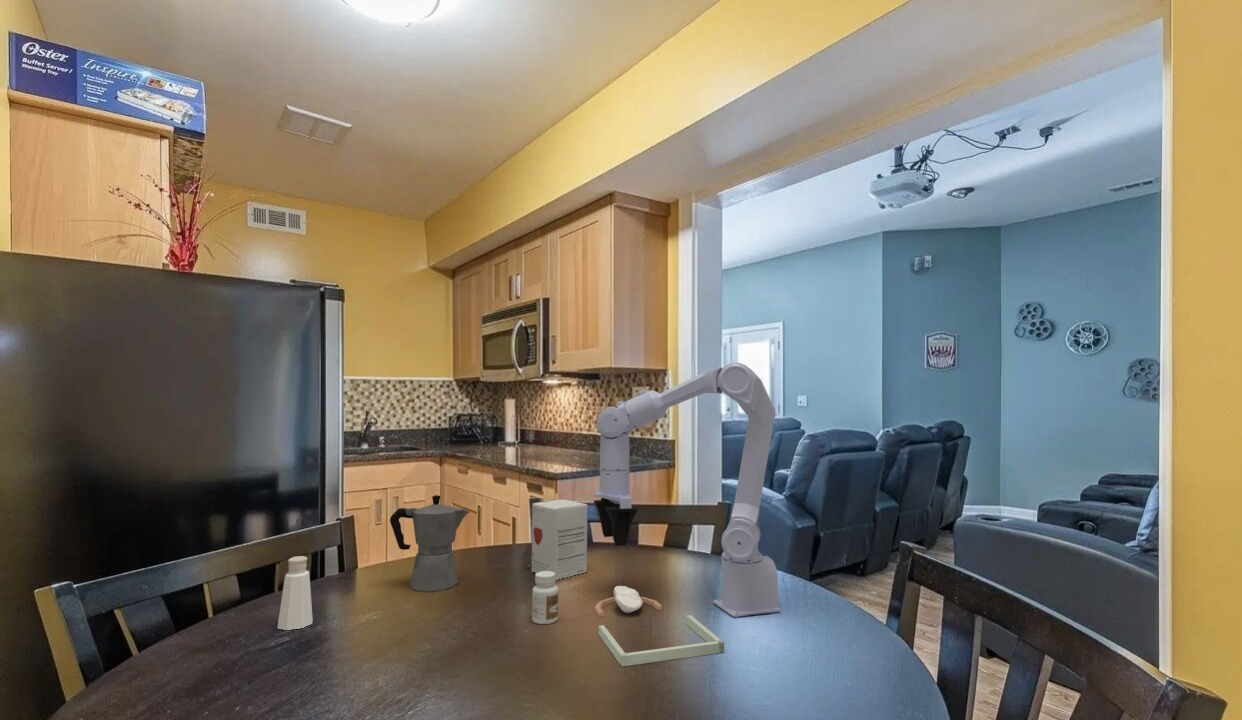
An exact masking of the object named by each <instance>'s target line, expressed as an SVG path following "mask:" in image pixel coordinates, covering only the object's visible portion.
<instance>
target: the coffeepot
mask: <svg viewBox="0 0 1242 720" xmlns="http://www.w3.org/2000/svg"><path fill="white" fill-rule="evenodd" d="M431 498H432V504H430V505H427V506H423V507H419V508H417V507H408V508H406V507H403V508H402V507H400V508H397V510H395V512H393V513H392V515H390V518H389V523H390V526H391V528H392V531H393V534H394V537H395V539H396V543H397V546H398V549H399V550H404V551H405V550H410V548H411V544H406V543H405V539H404V538H405V536H404V533H403V532H402V525H401V524H402V523H401V522H400V519H401V518H404V519H412V523H413V524H412V525H413V531H414V537H415V538H414V539H415V544H416V545H417V547H418V548H417V553H416V554H415V558H414V564H413V569H412V575H411V579H410V585H409V586H410V587H411V588H412V590H413V591H416V592H422V593H433V592H442V591H446V590H449V589H452V588H454V587H455V586H456V585H457V584H458V583H459V580H458V573H457V572H458V571H457V567H456V560H455V552H454V551H453V543H455V541H456V535H457V530H458V528H459V527H460V525H461V523H462V522H463V520H464V518H465V517H466V515H468V514H470V510H468V509H467V508H463V507H455V506H453V505H447V504H441V503H440V502H441V501H440V500H441V495H437V494H436V495H432V496H431Z"/></svg>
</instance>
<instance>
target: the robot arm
mask: <svg viewBox="0 0 1242 720" xmlns="http://www.w3.org/2000/svg"><path fill="white" fill-rule="evenodd" d="M638 394H639V395H637V396H635V397H634V398H631V399H628V400H626V401H624V400H620V401H617V407H615V406H607V407H606V408H605V409H603V410H602V411H600V412H599V414H598V415H597V418H596V428H597V431H598V432H599V433H600V443H599V444H600V446H599V491H598V492H597V491H596V492H594V493H593V496H594V497H595V498H600V499H596V500H593V504H594V506H595V508H596V511H597V513H598V516H599V519H600V526H601V531H602V536H603V537H604V538H608V537H609V538H610V537H612V539H613V543H614V546H615V547H616V546H617V547H618V546H620V547H621V546H626V545H627V542H628V539H629V533H630V530H631V525H632V522H633V520H634V519H635V516H636V514H637V513H638V508H637V507H635V506H632V497H631V491H630V432H631V431H632V430H637V429H639V428H642V427H644V426H646V425H649V424H651V423H653V422H656V421H659V420H660V419H662V418H664V417H665V414H666V412H667V410H668V408H671V407H673V406H677V405H678V404H680V403H684V402H686V401H688V400H690V399H694V398H696V397H698V396H701V395H704V394H719V395H720V394H721V395H723V394H724V395H726V396H728V397H729V398H730V399H731V400H733V401H734V402H736V403H737V404H738V406H739V407H740V408H741V410H742V411H743V412H744V413H745V415H746V416H747V418H748V421H747V426H746V431H745V432H746V433H745V438H744V443H743V448H742V455H741V456H742V457H741V461H740V468H739V473H738V481H737V485H736V491H735V497H734V502H733V507H732V511H731V515H730V519H729V522H728V524H727V527H726V529H725V530H724V532H723V533H722V537H721V543H720V544H721V547H722V550H723V552H722V553H721V594H722V595H721V599H713V601H712V603H713V604H714V605H716V606H717V607H718V608H720V609H722V610H723V611H724V612H726V613H727V614H728V615H730V616H732V617H733V618H738V617H745V616H754V615H762V614H771V613H779V612H781V608H780V607H779V603H778V602H779V598H778V597H779V595H778V594H779V592H778V590H779V589H778V588H779V587H778V586H779V585H778V584H779V583H778V571H777V566H776V563H775V562H774V560H773V559H772V558H771V557H770V556H768V555H763V554H762V553H761V552H760V550H759V548H758V547H759V542H760V540H761V529H760V526H759V516H760V506H761V501H762V494H763V490H764V489H763V488H764V484H765V483H764V482H765V478H766V472H767V471H766V470H767V465H768V459H769V453H770V448H771V441H772V435H773V429H774V423H775V417H776V408H775V406H774V404H773V401H772V400H771V398H770V395H769V394H768V391H767V389H766V387H765V385H764V383H763V380H762V378H760V377H759V376H758V375H757V374H756V372H755V371H753V369H751V368H749V366H748V365H746V364H744V363H741V362H731V363H728V364H726V365H725V366H724V367H722V366H719V367H715V368H712V369H710V370H707V371H704V372H701V373H699V374H697V375H695V376H694V377H691V378H689V379H687V380H685V381H684V382H681V383H679V384H677V385H674V386H673V387H670V388H668V389H666V390H665V391H663V392H660V393H659V392H657V391H655V390H652V389H651V390H648V391H647V389H643V390H641V391H638Z"/></svg>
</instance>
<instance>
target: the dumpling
mask: <svg viewBox="0 0 1242 720" xmlns="http://www.w3.org/2000/svg"><path fill="white" fill-rule="evenodd" d="M613 597H615V600H616V602H615V603H616V604H617V605H618V606H619V608H620V610H621V611H622V612H623V613H625V614H630V613H632V612H633V613H634V611H637V610H639V609H640V608H641V607H642V605H643V604H644V603H643V602H642V599H641V598H640V597H641V596H640V593H639V592H638V591H637V590H636V589H634V588H630V587H628V586H625V585H616V586H615V587H614V589H613Z"/></svg>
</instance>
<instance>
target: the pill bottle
mask: <svg viewBox="0 0 1242 720" xmlns="http://www.w3.org/2000/svg"><path fill="white" fill-rule="evenodd" d="M534 574H535V576H534V579H535V580H534V581H535V582H534V583H535V584H536V585H534V587H532V593H531V594H532V595H531V596H532V598H531V599H532V600H531V602H532V604H531V605H532V606H531V620H532V622H533V623H535V624H539V625H546V624H547V625H548V624H553V623H555V622H556V621H557V620H558V618H559V587H558V586H557V585H556V584H555V583H556V582H557V580H556V578H555V573H554V572H552V571H541V572H538V573H534ZM555 580H556V581H555Z"/></svg>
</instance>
